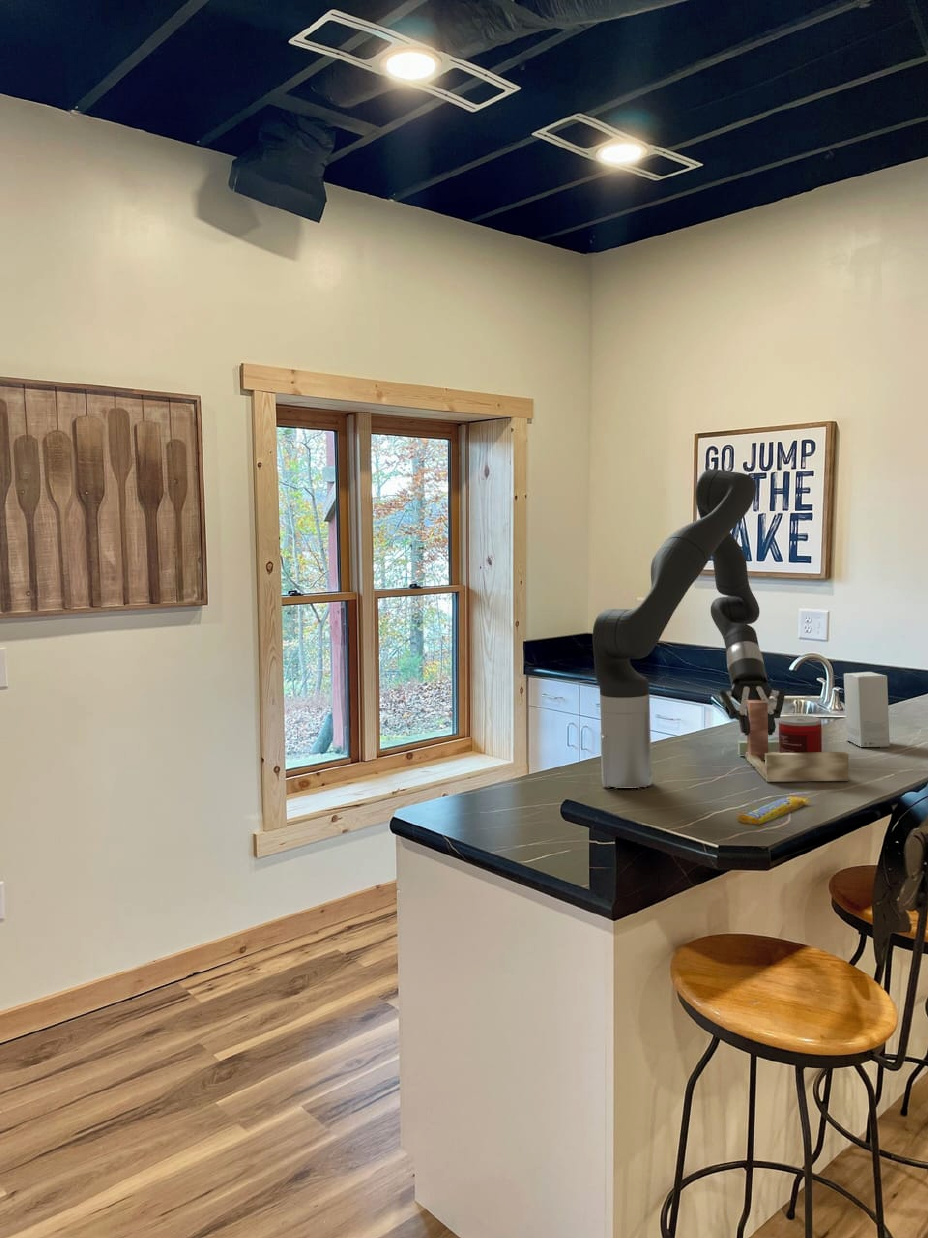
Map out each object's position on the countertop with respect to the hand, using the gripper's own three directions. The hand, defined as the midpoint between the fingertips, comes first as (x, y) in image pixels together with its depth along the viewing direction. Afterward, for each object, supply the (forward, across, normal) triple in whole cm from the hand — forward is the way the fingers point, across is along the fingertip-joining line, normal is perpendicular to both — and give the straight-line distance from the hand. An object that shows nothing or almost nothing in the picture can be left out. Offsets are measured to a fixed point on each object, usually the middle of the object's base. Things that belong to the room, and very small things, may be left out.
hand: (759, 733), depth 183 cm
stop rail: (0, +5, +9) cm, 10 cm away
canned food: (+13, +5, -4) cm, 14 cm away
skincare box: (-7, +26, +16) cm, 31 cm away
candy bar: (+31, -6, -21) cm, 37 cm away
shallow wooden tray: (+9, +5, -1) cm, 11 cm away
